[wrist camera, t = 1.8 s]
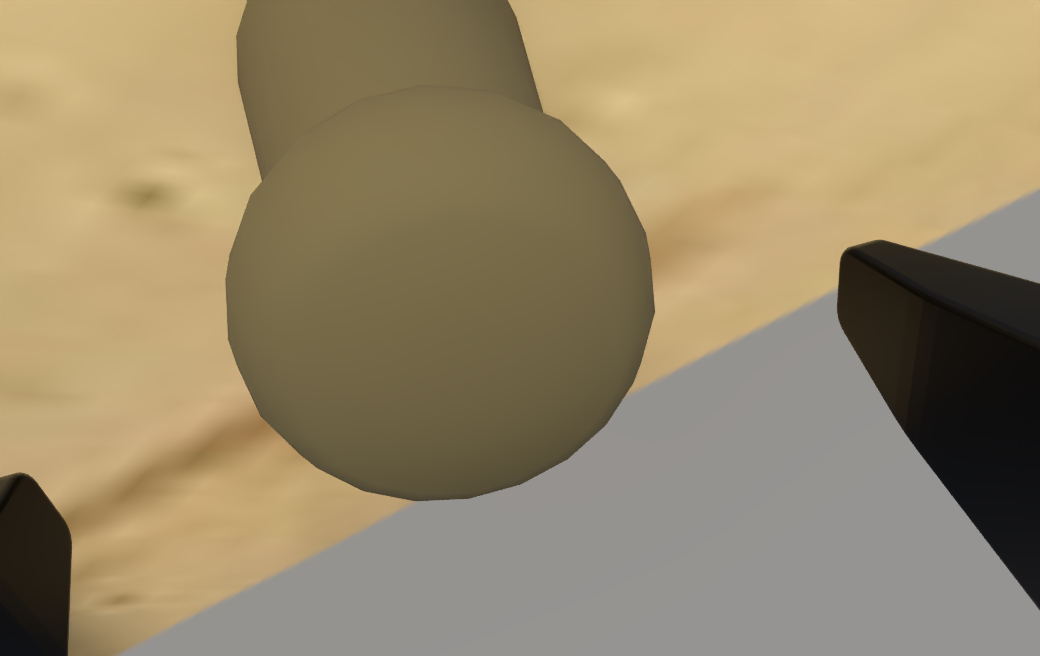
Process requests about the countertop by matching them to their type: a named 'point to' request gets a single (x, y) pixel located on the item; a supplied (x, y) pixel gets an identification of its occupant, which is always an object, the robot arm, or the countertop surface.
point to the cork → (426, 250)
